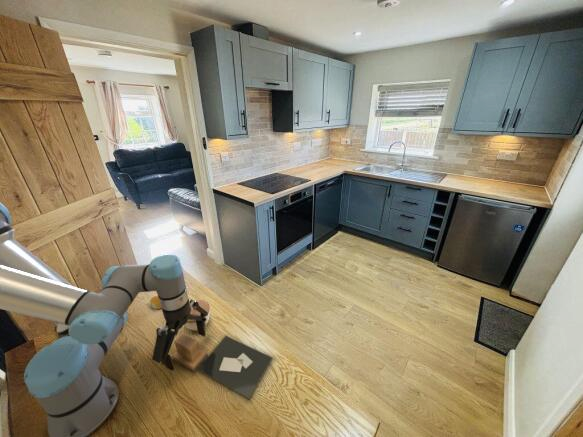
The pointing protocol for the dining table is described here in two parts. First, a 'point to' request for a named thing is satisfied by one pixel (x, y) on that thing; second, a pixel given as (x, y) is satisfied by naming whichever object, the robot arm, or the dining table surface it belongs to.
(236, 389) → the slate board
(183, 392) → the dining table surface
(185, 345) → the wooden stepped block
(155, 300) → the bread roll
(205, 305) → the trinket box
